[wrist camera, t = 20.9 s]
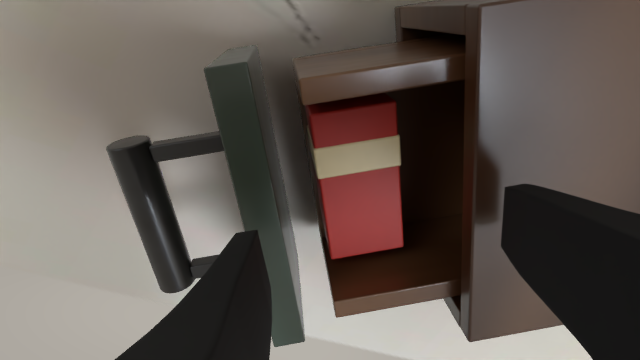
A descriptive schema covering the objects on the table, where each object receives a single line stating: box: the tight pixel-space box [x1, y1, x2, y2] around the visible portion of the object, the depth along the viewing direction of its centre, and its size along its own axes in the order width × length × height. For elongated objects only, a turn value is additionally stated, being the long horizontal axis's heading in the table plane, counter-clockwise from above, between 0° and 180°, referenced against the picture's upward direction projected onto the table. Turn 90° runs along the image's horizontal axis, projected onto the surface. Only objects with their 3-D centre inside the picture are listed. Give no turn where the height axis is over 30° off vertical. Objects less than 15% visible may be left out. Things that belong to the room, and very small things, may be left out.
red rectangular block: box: [305, 93, 404, 259], centre depth 16 cm, size 6×3×3 cm, turn 8°
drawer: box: [106, 34, 466, 347], centre depth 15 cm, size 17×10×6 cm, turn 98°
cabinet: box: [395, 0, 640, 342], centre depth 16 cm, size 14×12×8 cm
